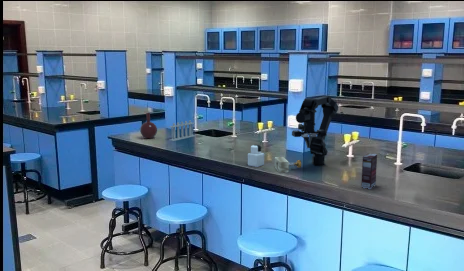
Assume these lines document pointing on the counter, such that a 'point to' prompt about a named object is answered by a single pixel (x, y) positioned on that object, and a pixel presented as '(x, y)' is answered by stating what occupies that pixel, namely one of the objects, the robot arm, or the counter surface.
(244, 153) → the counter surface
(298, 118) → the robot arm
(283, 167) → the block
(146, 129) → the round-bottom flask
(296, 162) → the pin
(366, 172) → the supplement box
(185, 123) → the test tube rack
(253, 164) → the medicine bottle
